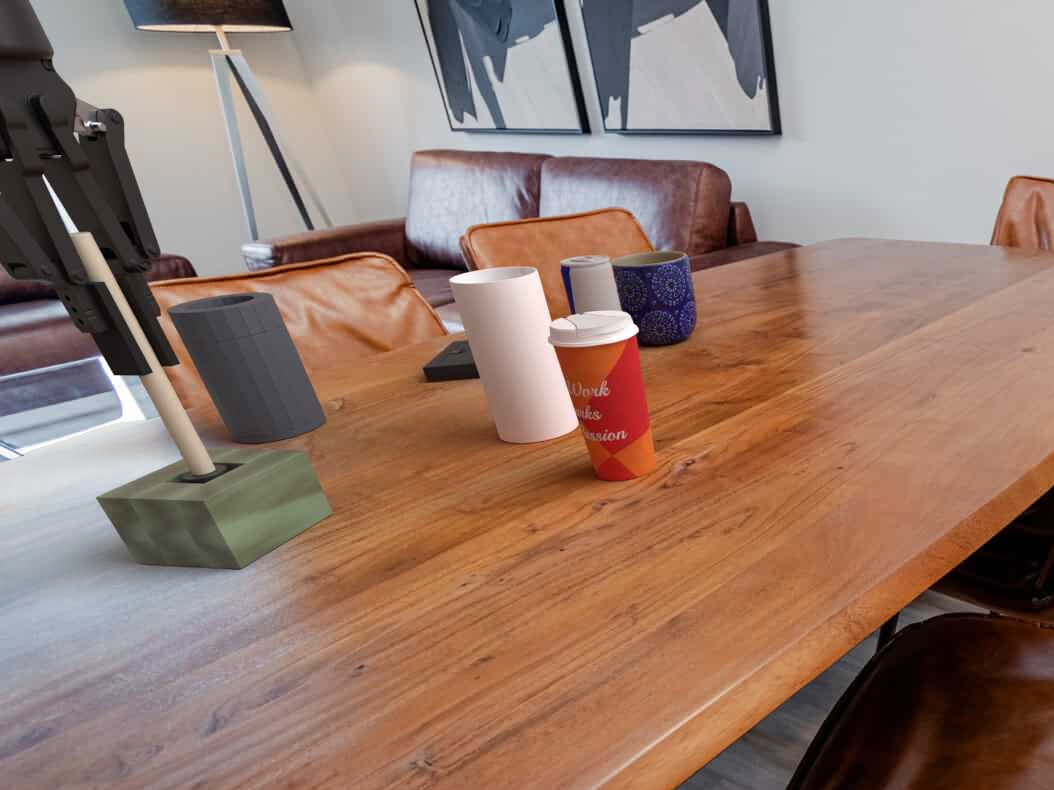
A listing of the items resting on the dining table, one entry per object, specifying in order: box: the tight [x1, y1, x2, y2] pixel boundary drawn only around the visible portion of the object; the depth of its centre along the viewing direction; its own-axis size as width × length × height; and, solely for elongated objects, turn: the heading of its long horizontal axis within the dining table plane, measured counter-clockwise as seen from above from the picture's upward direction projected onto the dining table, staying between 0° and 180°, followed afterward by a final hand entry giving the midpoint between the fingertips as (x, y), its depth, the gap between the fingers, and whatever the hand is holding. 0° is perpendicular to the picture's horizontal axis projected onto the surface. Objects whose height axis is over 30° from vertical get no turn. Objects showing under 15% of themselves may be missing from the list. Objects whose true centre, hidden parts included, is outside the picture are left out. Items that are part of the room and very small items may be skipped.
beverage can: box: [559, 254, 622, 315], centre depth 97 cm, size 6×6×15 cm
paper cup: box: [548, 311, 657, 482], centre depth 75 cm, size 8×8×14 cm
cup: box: [448, 266, 579, 444], centre depth 85 cm, size 8×8×16 cm
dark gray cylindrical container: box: [166, 291, 327, 445], centre depth 90 cm, size 9×9×14 cm
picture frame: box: [422, 339, 480, 383], centre depth 113 cm, size 13×2×18 cm
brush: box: [68, 231, 229, 484], centre depth 63 cm, size 3×3×23 cm
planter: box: [609, 250, 698, 347], centre depth 116 cm, size 11×11×11 cm
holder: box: [95, 448, 334, 570], centre depth 69 cm, size 10×10×6 cm
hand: (147, 368), depth 62 cm, fingers closed on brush, 2 cm apart
